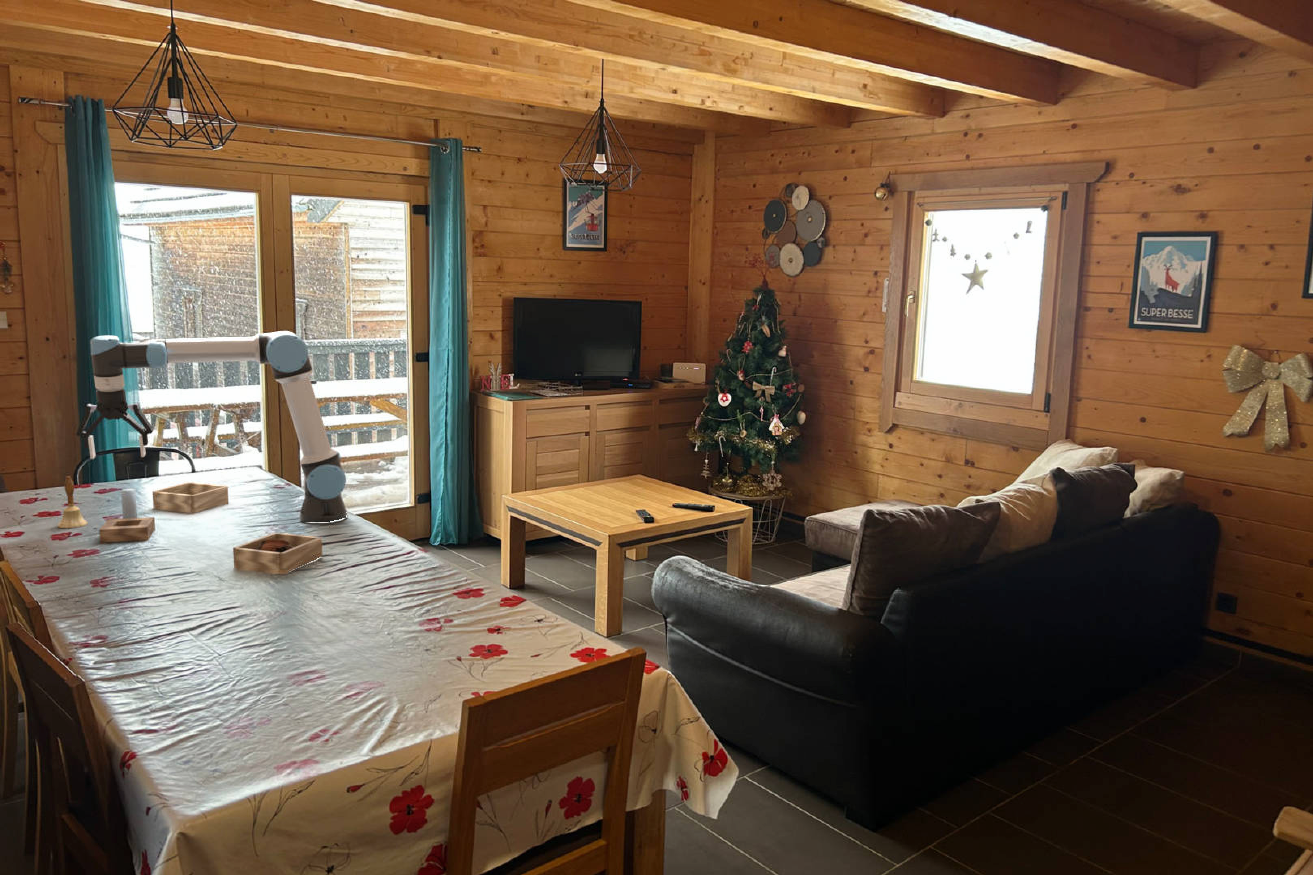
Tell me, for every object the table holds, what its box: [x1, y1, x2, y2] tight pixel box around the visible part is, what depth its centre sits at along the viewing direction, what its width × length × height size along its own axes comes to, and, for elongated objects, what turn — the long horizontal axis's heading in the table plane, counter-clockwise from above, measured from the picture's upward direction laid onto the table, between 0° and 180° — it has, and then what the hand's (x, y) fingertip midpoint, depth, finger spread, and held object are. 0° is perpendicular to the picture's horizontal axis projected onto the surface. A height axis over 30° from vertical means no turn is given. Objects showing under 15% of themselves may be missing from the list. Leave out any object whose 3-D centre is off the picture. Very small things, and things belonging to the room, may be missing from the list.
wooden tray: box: [152, 482, 229, 514], centre depth 339 cm, size 17×17×6 cm
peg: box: [120, 488, 138, 519], centre depth 309 cm, size 4×4×12 cm
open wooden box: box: [232, 532, 323, 575], centre depth 275 cm, size 16×18×6 cm
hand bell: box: [57, 475, 89, 529], centre depth 309 cm, size 8×8×16 cm
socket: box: [98, 516, 156, 543], centre depth 299 cm, size 13×13×4 cm
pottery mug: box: [258, 539, 292, 553], centre depth 275 cm, size 12×10×8 cm
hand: (118, 456), depth 291 cm, fingers open, 13 cm apart
